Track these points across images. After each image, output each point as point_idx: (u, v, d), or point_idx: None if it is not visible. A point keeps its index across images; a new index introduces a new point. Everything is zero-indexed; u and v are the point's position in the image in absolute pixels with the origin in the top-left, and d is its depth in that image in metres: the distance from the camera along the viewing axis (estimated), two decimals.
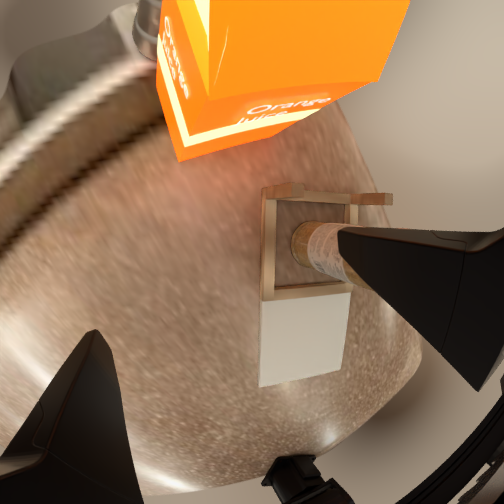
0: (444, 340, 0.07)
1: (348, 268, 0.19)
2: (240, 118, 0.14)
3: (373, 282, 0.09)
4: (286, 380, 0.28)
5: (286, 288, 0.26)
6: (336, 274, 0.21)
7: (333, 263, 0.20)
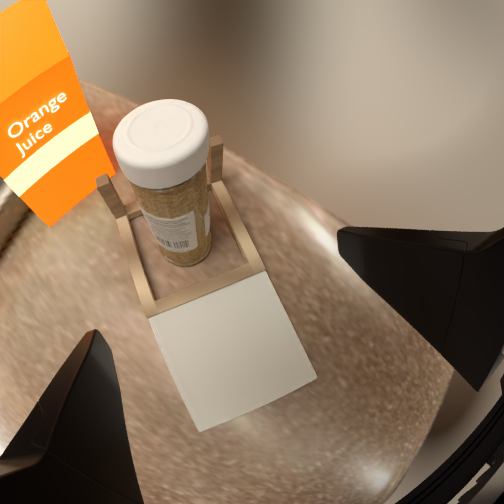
0: (444, 340, 0.07)
1: (139, 202, 0.15)
2: (22, 147, 0.15)
3: (373, 282, 0.09)
4: (234, 415, 0.19)
5: None
6: (157, 227, 0.17)
7: (144, 216, 0.17)
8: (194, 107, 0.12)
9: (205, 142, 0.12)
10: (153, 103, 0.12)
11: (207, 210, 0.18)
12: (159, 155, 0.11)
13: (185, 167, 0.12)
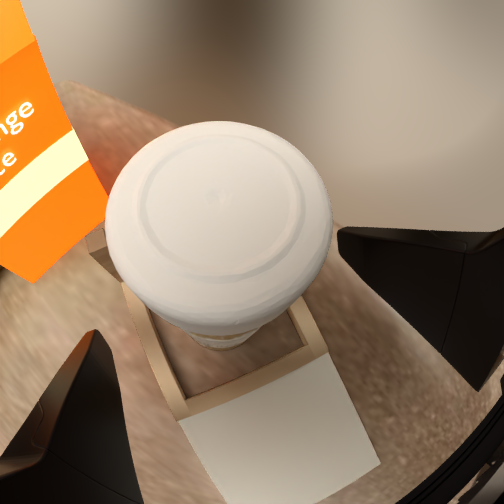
0: (444, 340, 0.07)
1: None
2: None
3: (373, 282, 0.09)
4: None
5: (205, 392, 0.15)
6: (196, 338, 0.10)
7: None
8: (291, 148, 0.06)
9: None
10: (194, 130, 0.06)
11: None
12: (238, 292, 0.05)
13: (290, 304, 0.05)
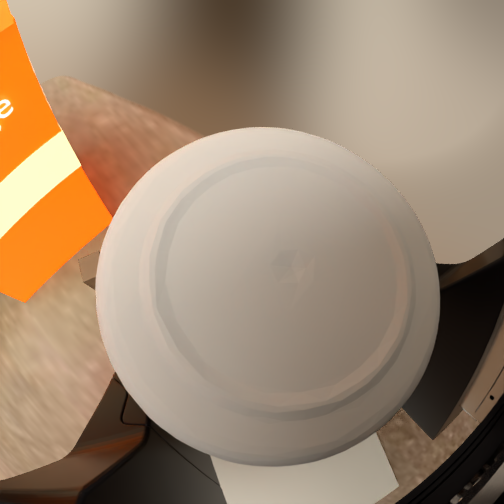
0: None
1: None
2: None
3: None
4: None
5: None
6: None
7: None
8: (383, 178, 0.04)
9: None
10: (237, 140, 0.04)
11: None
12: (332, 427, 0.02)
13: None
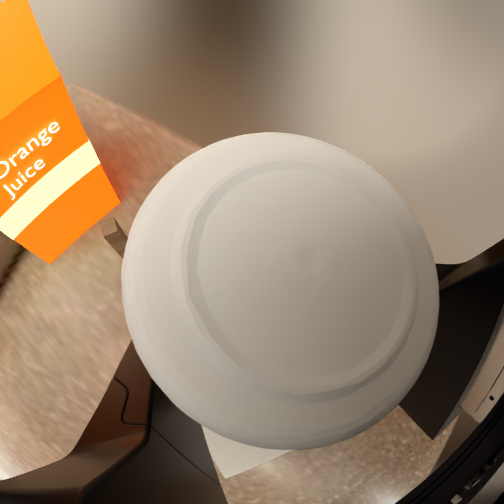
0: None
1: None
2: (11, 188, 0.12)
3: None
4: (260, 462, 0.17)
5: None
6: None
7: None
8: (388, 184, 0.04)
9: None
10: (259, 143, 0.04)
11: None
12: (350, 408, 0.03)
13: None
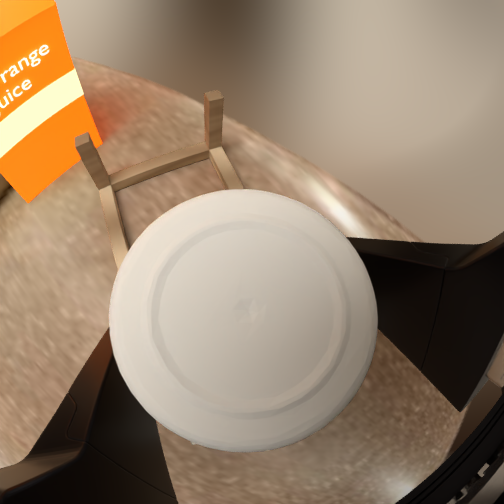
0: (424, 358, 0.07)
1: None
2: None
3: None
4: None
5: None
6: None
7: None
8: (335, 233, 0.05)
9: None
10: (213, 205, 0.05)
11: None
12: (272, 427, 0.04)
13: None
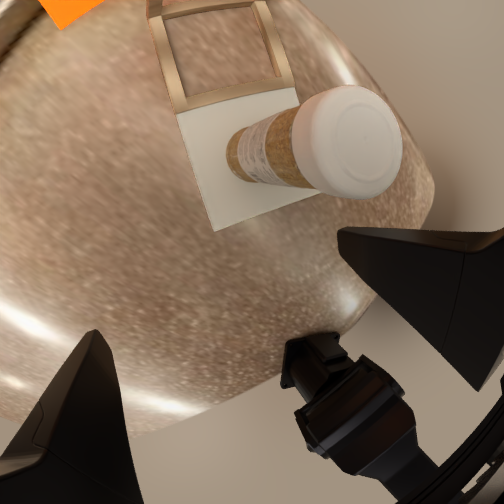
0: (444, 340, 0.07)
1: (276, 168, 0.13)
2: None
3: (373, 282, 0.09)
4: (249, 215, 0.23)
5: None
6: (273, 180, 0.15)
7: (261, 167, 0.15)
8: (395, 120, 0.10)
9: None
10: (357, 93, 0.09)
11: None
12: (368, 188, 0.10)
13: None
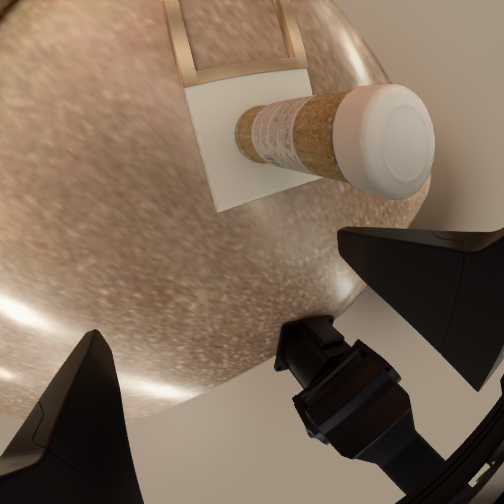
0: (444, 340, 0.07)
1: (303, 156, 0.12)
2: None
3: (373, 282, 0.09)
4: (254, 196, 0.22)
5: (213, 68, 0.17)
6: (293, 167, 0.15)
7: (284, 152, 0.14)
8: (431, 123, 0.09)
9: None
10: (404, 94, 0.08)
11: None
12: (404, 189, 0.10)
13: None
